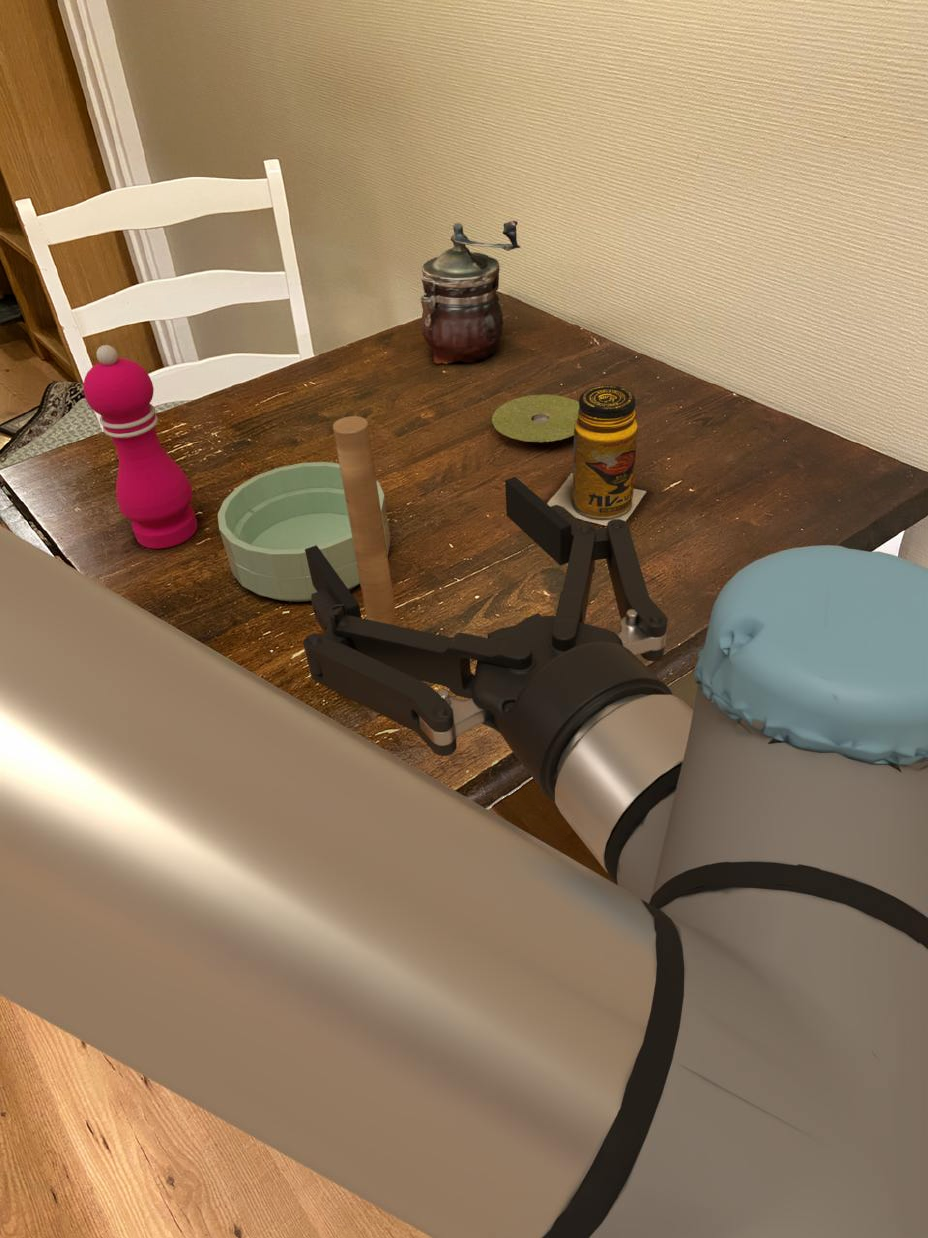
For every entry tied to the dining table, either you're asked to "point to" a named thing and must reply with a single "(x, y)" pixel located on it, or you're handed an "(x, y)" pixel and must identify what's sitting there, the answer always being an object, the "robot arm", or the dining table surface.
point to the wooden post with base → (365, 517)
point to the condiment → (602, 458)
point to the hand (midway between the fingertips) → (416, 529)
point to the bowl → (290, 529)
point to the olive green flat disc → (537, 418)
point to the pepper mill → (140, 453)
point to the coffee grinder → (463, 300)
